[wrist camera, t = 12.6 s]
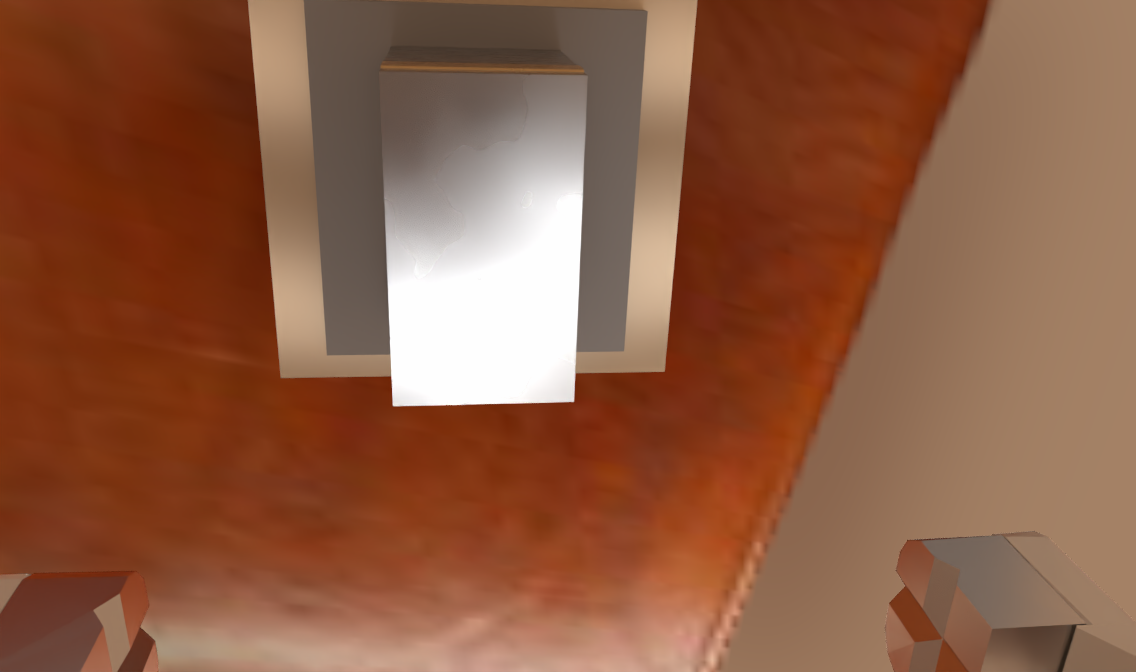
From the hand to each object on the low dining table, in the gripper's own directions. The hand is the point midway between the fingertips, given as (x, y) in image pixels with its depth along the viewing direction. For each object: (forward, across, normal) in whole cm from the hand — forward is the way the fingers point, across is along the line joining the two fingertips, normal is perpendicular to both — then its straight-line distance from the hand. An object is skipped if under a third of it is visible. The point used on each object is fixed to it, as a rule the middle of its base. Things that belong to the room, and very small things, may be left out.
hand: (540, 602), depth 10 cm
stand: (+23, 0, 0) cm, 23 cm away
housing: (+18, 0, 0) cm, 18 cm away
